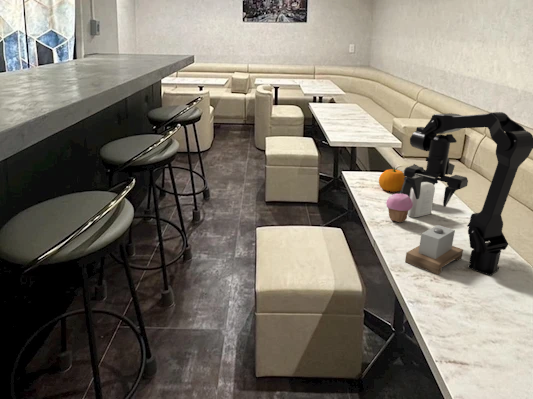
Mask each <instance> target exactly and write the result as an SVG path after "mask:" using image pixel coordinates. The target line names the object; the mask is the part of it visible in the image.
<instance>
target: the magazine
mask: <svg viewBox="0 0 533 399" xmlns="http://www.w3.org/2000/svg"><path fill="white" fill-rule="evenodd" d="M413 165H415V166H418V165H417V164H415V163H413ZM425 170H426V169H424V171H425ZM430 176H431V175H430ZM404 180H405V181H404V183H403V186H402V190H400V191H399V194H406V195H408V196H409V197H410V190H411V188H412V185H411V183H410V181H409V180H408V179H407V177H404ZM422 182H429V183H432V184H434V186H435V185H437V184H438V183H439V182H438V180H434V179H430V178H426V177H423V179H422V181H421V183H422Z"/></svg>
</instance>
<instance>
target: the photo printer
mask: <svg viewBox="0 0 533 399" xmlns="http://www.w3.org/2000/svg"><path fill="white" fill-rule="evenodd" d="M435 190H436V186H435V185H434V184H432V183H429V182H422V183H421V189H420V196H419V199H416V197H415V194H414V191H413V188H411V190H410V197H409V198H411V200H412V202H413V206H412V208H411V209H410V210H408V214H407V217H410V218H420V217H424V216H428V215H430V214H431V213H432V210H433V209H432V208H433V202H434V196H435Z"/></svg>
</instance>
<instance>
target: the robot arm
mask: <svg viewBox="0 0 533 399" xmlns="http://www.w3.org/2000/svg"><path fill="white" fill-rule="evenodd" d="M474 128H475V129H477V128H487V129H488V131H489V135H490V138H491V140H492V141H493V143H495V144H496V148H495V156H496V158H497V159H496V160H497V165H496V168H495V171H494V174H493V176H492V180H491V182H490V185H489V187H488V188H489V189H488V191H487V194H486V197H485V200H484V204H483V206H482V209H481V211H480V212H475V213H472V214H471V216H470V218H469V223H468V224H467V227H468V229H467V234H468V237H469V240H468V241H469V247H470V248H471V249H472V250H471V251H470V256H469V262H468V263H469V265H468V266H467V268H468V269H470V270H474V271H477V272H479V273H482V274H485V275H488V276H492V275H494V274H495V273H496V272H497V271H499V270H500V266H499V262H500V257H501V254H502V253H501V252H502V250H503V251H505V250H506V249H507V248H508V246H509V242H508V241H507V239H506V237H505V234H504V232H503V228H504V221H503V218H502V213H503V210H504V208H505V205H506V202H507V199H508V197H509V193H510V191H511V188H512V185H513V183H514V180H515V177H516V174H517V172H518V169H519V167H520V166H521V165H522V164H523V163H524V162H525V161H526V160H527V159H528V157H529V156H530V154H531V152H532V151H533V135H532V133H531V132H529V131H528V130H526V129H525V128H524V127H523V126H522V125H520V124H519V123H517V122H516V121H514V120H513V119H511V118H510V117H509V116H508V114H507V113H505V112H502V111H497V112H496V111H495V112H487V113H481V114H469V115H461V114H458V113H452V112H451V113H450V112H449V113H448V112H447V113H435V114H433V115H432V116H431V117H430V120H429V121H428V122H427V124H426V125H425V126H424V127H423V126H417V127H416V129H415V130H416V131H414V132H413V133H412V135H411V136H410V137H409V143H410V144H409V145H410V146H411V147H413V148H415V149H418V150H421V151H424V152H428V153H427V154H428V155H427V157H425V162H427V163H426V169H424V167H423V166H419V165H417V166H415V165H416V164H415V165H410V166H407V167H405V168H404V170H403V173H404V176H406V177H407V179H408V180H409V181H410V183H411V185H412V188H413V191H414V194H415V197H416V199H419V196H420V189H421V181H422V179H423V177H426V178H430V179H434V180H438V181H439V182H443V183H446V185H447V186H445V188H444V195H443V196H444V197H443V201H442V206H443V207H444V208H445V207H447V205H448V203H449V202H450V200H451V198H452V196H454V194H455V192H456V191H458V190H462V189H464V188H466V187H467V186H468V183H469V180H468V178H467V176H463V175H459V174H454V175H453V173H454V169H455V166H456V165H455V164H453V163H451V162H450V157H449V152H450V147H451V144H453V143H455V144H456V143H457V139H456V138H455V137H454V135H453V133H454V132H458V131H461V130H463V129H474ZM446 133H447V134H446ZM424 170H425V171H424ZM430 175H431V176H430ZM447 175H449V176H447ZM450 175H451V176H450Z"/></svg>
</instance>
